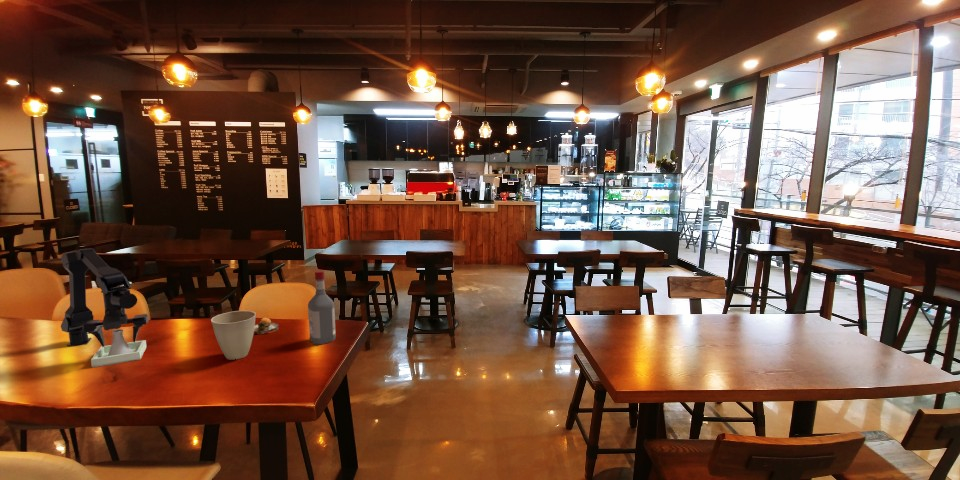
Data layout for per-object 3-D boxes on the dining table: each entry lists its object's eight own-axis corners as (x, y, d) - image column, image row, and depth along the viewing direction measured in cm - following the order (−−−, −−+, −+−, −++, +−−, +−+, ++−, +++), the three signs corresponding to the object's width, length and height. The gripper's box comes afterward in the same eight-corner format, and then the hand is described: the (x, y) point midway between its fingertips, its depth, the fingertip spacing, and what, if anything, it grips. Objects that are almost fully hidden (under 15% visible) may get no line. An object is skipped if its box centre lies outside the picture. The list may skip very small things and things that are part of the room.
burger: (270, 324, 204) (269, 309, 203) (283, 329, 197) (282, 313, 196) (244, 331, 194) (243, 315, 193) (257, 337, 187) (256, 320, 186)
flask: (118, 360, 162) (115, 334, 160) (103, 358, 163) (99, 333, 161) (137, 352, 169) (134, 328, 167) (121, 351, 170) (119, 326, 168)
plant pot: (205, 360, 163) (201, 320, 160) (239, 346, 176) (236, 309, 174) (234, 366, 158) (231, 325, 155) (267, 351, 171) (264, 313, 169)
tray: (101, 353, 168) (101, 346, 168) (146, 347, 175) (145, 340, 175) (91, 367, 156) (90, 359, 156) (140, 359, 163) (139, 352, 163)
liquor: (316, 346, 177) (312, 275, 173) (308, 339, 184) (304, 271, 180) (337, 340, 183) (334, 271, 179) (329, 334, 190) (325, 268, 186)
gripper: (75, 314, 151) (80, 356, 154) (141, 307, 161) (146, 346, 163) (84, 306, 161) (89, 346, 163) (146, 299, 170) (150, 337, 172)
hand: (119, 344), depth 165 cm, fingers open, 9 cm apart
